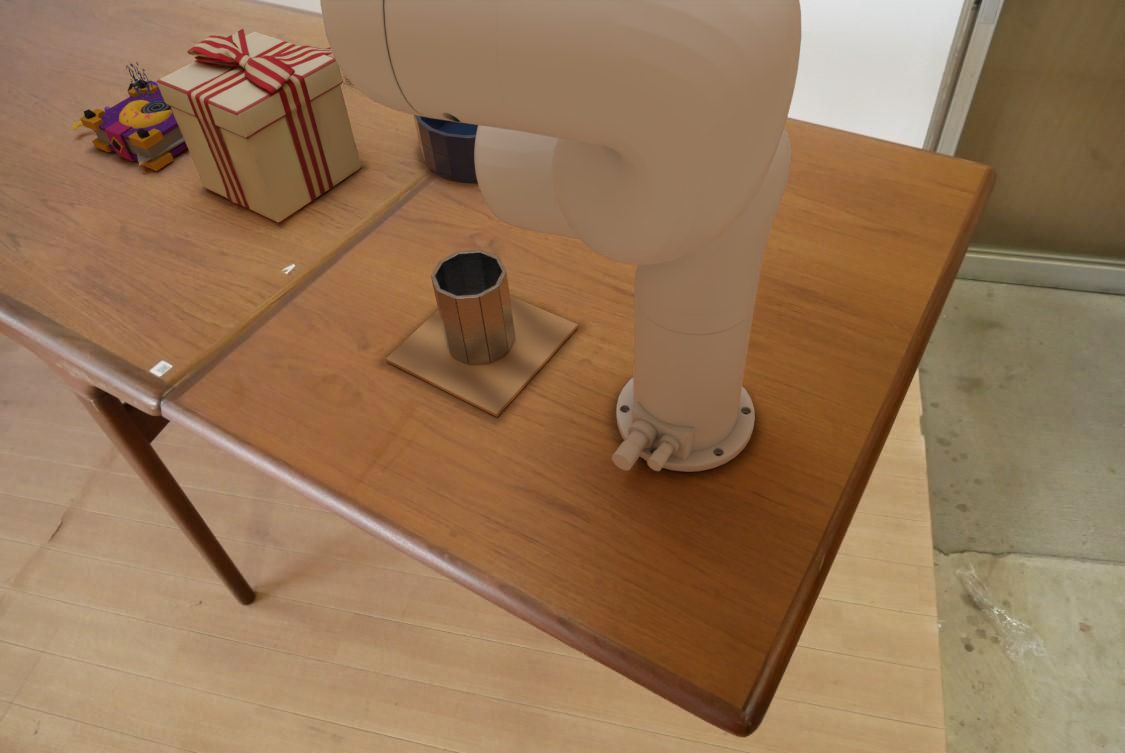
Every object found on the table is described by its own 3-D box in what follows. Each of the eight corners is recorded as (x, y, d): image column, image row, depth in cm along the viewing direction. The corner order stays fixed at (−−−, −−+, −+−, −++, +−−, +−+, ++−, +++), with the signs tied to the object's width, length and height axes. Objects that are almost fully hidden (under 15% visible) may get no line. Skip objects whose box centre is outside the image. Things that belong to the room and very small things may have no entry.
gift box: (384, 151, 111) (353, 23, 98) (287, 230, 100) (238, 98, 88) (289, 121, 117) (248, -3, 104) (189, 192, 107) (130, 64, 94)
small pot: (488, 375, 82) (476, 308, 76) (432, 348, 85) (416, 281, 78) (528, 332, 86) (520, 265, 79) (473, 308, 89) (461, 241, 82)
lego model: (148, 94, 125) (110, 12, 116) (269, 135, 115) (238, 50, 106) (64, 143, 117) (17, 59, 107) (187, 192, 107) (146, 104, 98)
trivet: (497, 417, 79) (496, 414, 79) (386, 362, 85) (385, 358, 84) (578, 327, 87) (577, 324, 86) (471, 282, 92) (470, 278, 92)
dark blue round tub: (496, 197, 103) (490, 151, 98) (397, 160, 109) (386, 115, 104) (569, 133, 111) (567, 88, 106) (473, 103, 118) (466, 59, 113)
